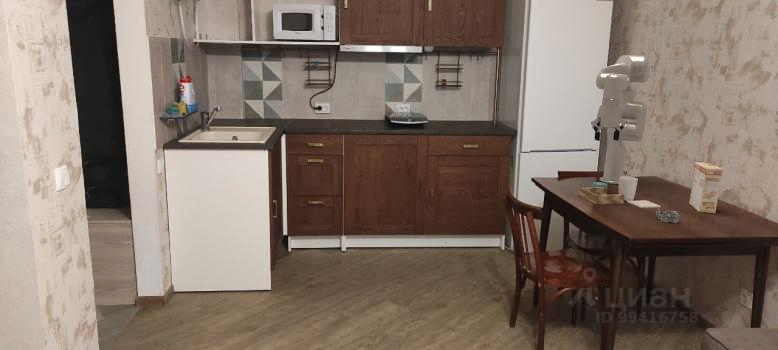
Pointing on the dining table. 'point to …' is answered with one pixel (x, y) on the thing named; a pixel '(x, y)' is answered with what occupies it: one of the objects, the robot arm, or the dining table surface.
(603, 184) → the teal block
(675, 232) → the dining table surface
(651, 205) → the cream tile
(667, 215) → the grey stone ruin model
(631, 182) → the white cup
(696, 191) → the coffeecake box
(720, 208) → the dining table surface
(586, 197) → the oak bay
